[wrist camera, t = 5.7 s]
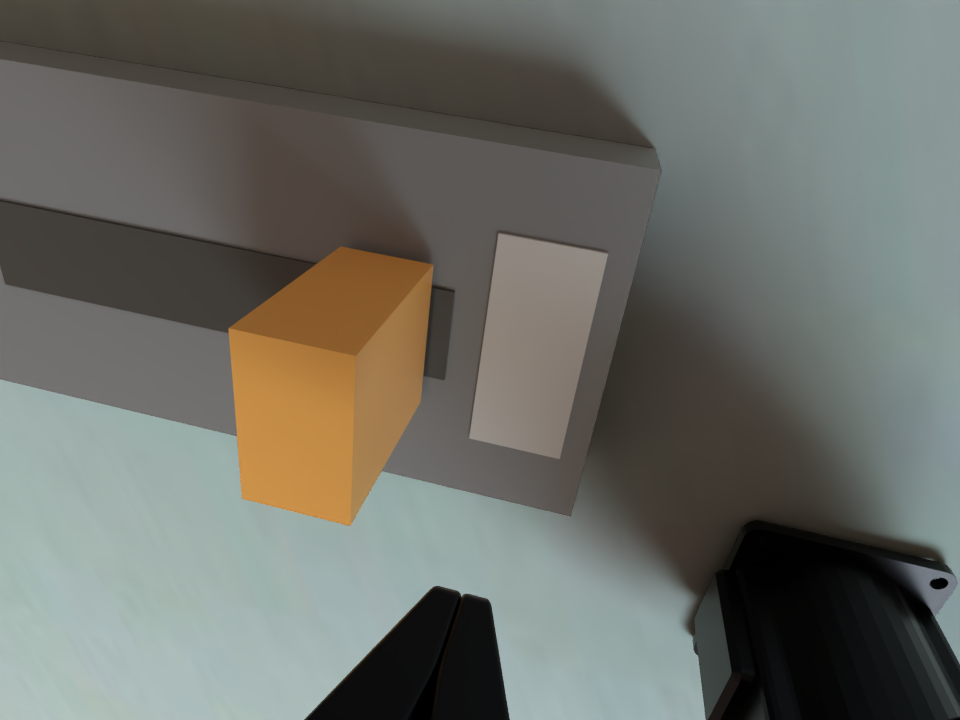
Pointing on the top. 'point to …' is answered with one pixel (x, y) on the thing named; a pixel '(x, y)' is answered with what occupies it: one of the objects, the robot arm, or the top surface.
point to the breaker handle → (329, 381)
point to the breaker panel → (313, 252)
